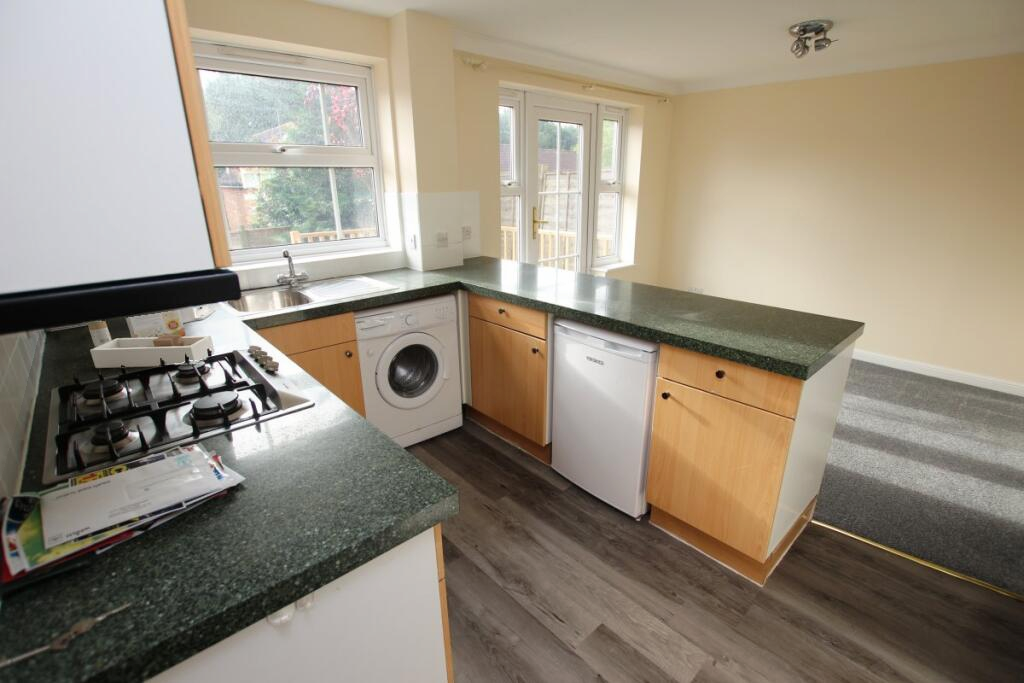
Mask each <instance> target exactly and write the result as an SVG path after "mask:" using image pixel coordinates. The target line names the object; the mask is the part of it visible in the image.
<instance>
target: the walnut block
mask: <svg viewBox="0 0 1024 683" xmlns="http://www.w3.org/2000/svg"><path fill="white" fill-rule="evenodd" d="M182 337H183V336H181V335H163V336H161V337H159V338H157V339H155V340H153V343H154V347H170V346H184V345H183V341H182Z"/></svg>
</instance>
